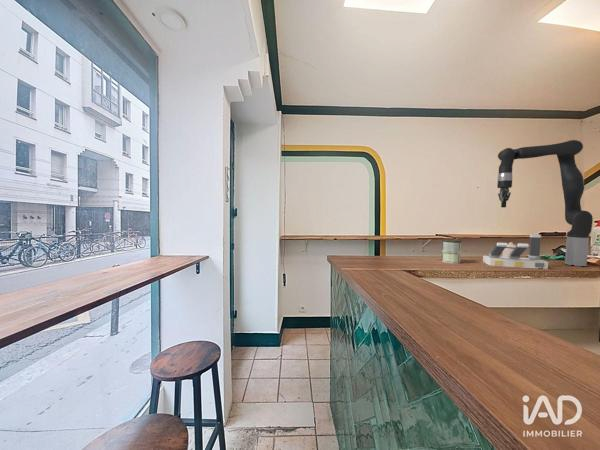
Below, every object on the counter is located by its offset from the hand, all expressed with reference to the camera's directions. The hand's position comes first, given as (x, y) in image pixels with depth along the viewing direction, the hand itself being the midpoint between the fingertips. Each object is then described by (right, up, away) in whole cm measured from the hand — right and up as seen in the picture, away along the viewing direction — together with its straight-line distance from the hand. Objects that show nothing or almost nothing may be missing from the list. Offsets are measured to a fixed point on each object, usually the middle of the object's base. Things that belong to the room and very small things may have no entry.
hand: (503, 207), depth 173 cm
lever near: (+7, -32, -15) cm, 36 cm away
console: (-3, -36, -12) cm, 38 cm away
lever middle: (-3, -31, -11) cm, 33 cm away
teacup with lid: (+10, -35, +8) cm, 37 cm away
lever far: (-12, -31, -8) cm, 34 cm away
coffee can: (-36, -35, -3) cm, 50 cm away
